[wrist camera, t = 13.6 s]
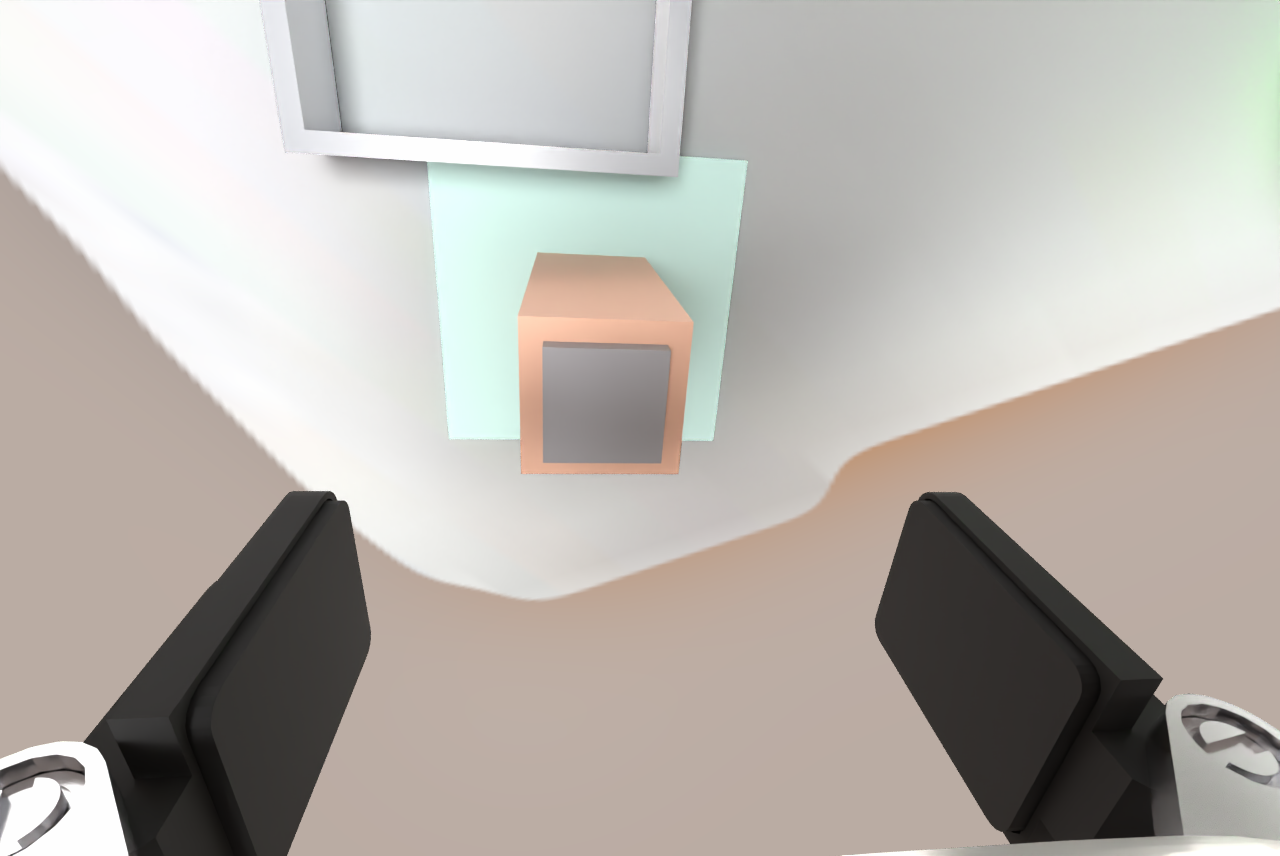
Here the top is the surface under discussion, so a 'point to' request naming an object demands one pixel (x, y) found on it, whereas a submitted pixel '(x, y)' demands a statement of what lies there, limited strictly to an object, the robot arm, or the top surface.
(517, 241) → the mat
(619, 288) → the block
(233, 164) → the top surface
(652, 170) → the case
